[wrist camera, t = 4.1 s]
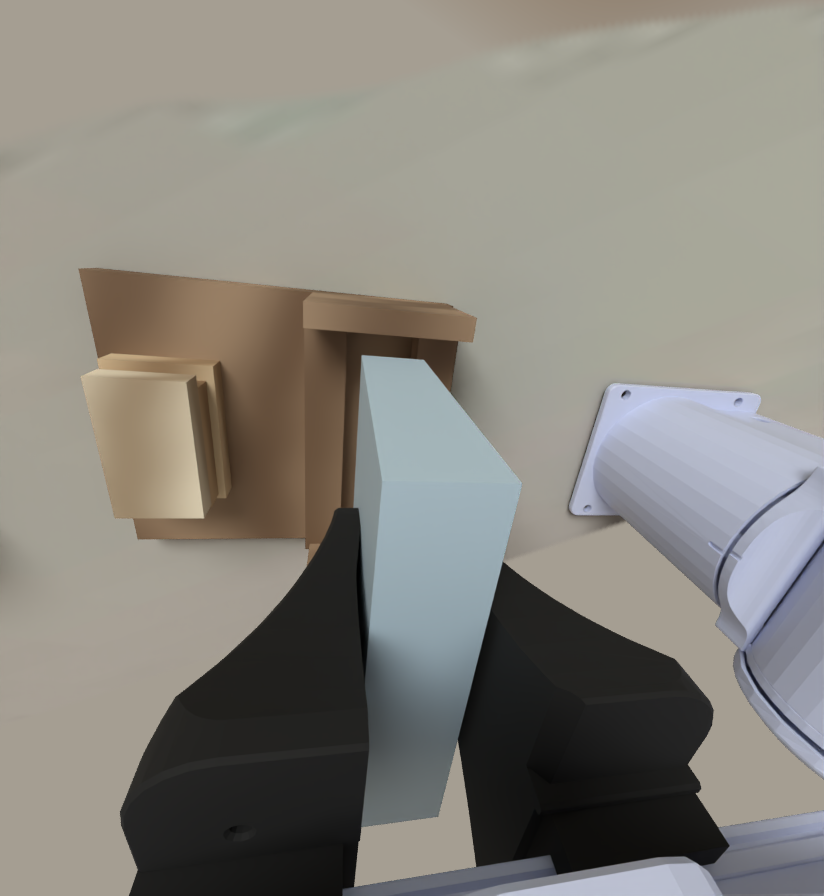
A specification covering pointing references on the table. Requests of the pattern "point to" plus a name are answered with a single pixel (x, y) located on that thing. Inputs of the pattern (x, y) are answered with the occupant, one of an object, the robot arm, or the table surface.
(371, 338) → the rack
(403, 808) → the tall sheet
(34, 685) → the table surface
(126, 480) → the offcut stack
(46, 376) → the table surface
